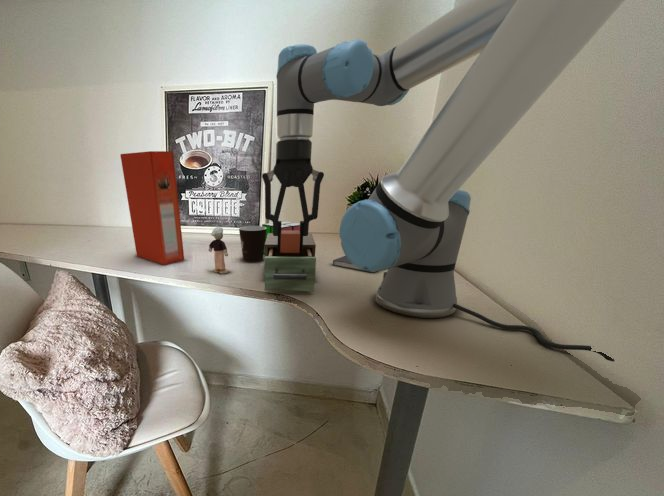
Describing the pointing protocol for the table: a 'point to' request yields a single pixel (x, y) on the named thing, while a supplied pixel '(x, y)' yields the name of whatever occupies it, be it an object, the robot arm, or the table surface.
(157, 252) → the file binder
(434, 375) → the table surface
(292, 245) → the block
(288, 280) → the drawer
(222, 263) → the grandmother figurine
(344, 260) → the notebook
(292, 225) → the puzzle cube
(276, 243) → the cabinet
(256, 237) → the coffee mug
